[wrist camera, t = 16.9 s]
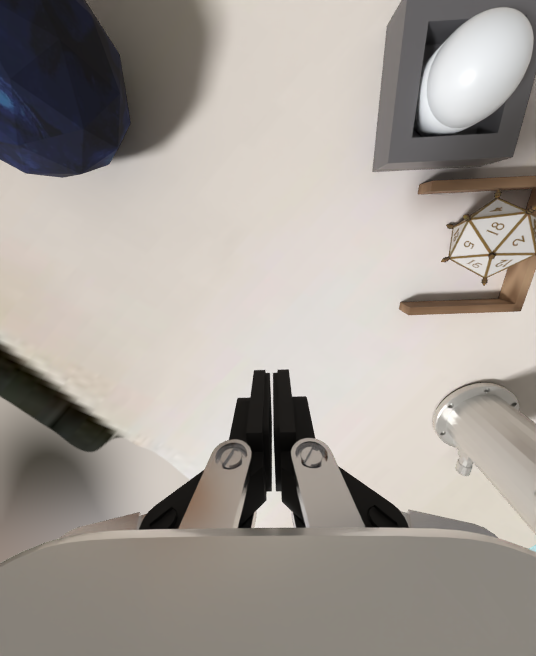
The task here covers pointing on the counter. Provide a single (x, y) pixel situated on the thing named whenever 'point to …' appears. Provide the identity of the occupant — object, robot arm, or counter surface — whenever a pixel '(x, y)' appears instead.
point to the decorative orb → (58, 89)
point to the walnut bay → (516, 275)
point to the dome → (473, 72)
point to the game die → (493, 238)
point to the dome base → (403, 86)
